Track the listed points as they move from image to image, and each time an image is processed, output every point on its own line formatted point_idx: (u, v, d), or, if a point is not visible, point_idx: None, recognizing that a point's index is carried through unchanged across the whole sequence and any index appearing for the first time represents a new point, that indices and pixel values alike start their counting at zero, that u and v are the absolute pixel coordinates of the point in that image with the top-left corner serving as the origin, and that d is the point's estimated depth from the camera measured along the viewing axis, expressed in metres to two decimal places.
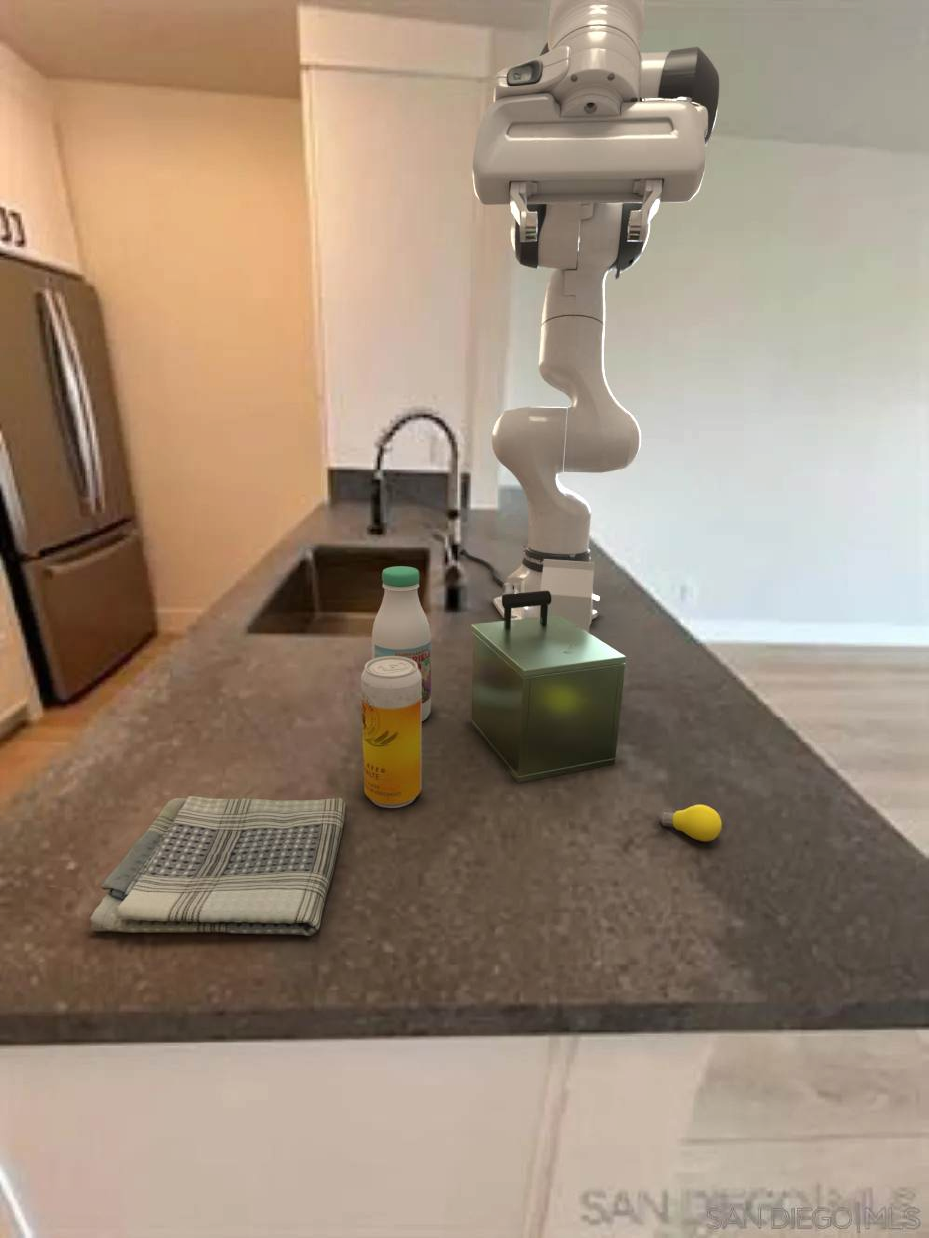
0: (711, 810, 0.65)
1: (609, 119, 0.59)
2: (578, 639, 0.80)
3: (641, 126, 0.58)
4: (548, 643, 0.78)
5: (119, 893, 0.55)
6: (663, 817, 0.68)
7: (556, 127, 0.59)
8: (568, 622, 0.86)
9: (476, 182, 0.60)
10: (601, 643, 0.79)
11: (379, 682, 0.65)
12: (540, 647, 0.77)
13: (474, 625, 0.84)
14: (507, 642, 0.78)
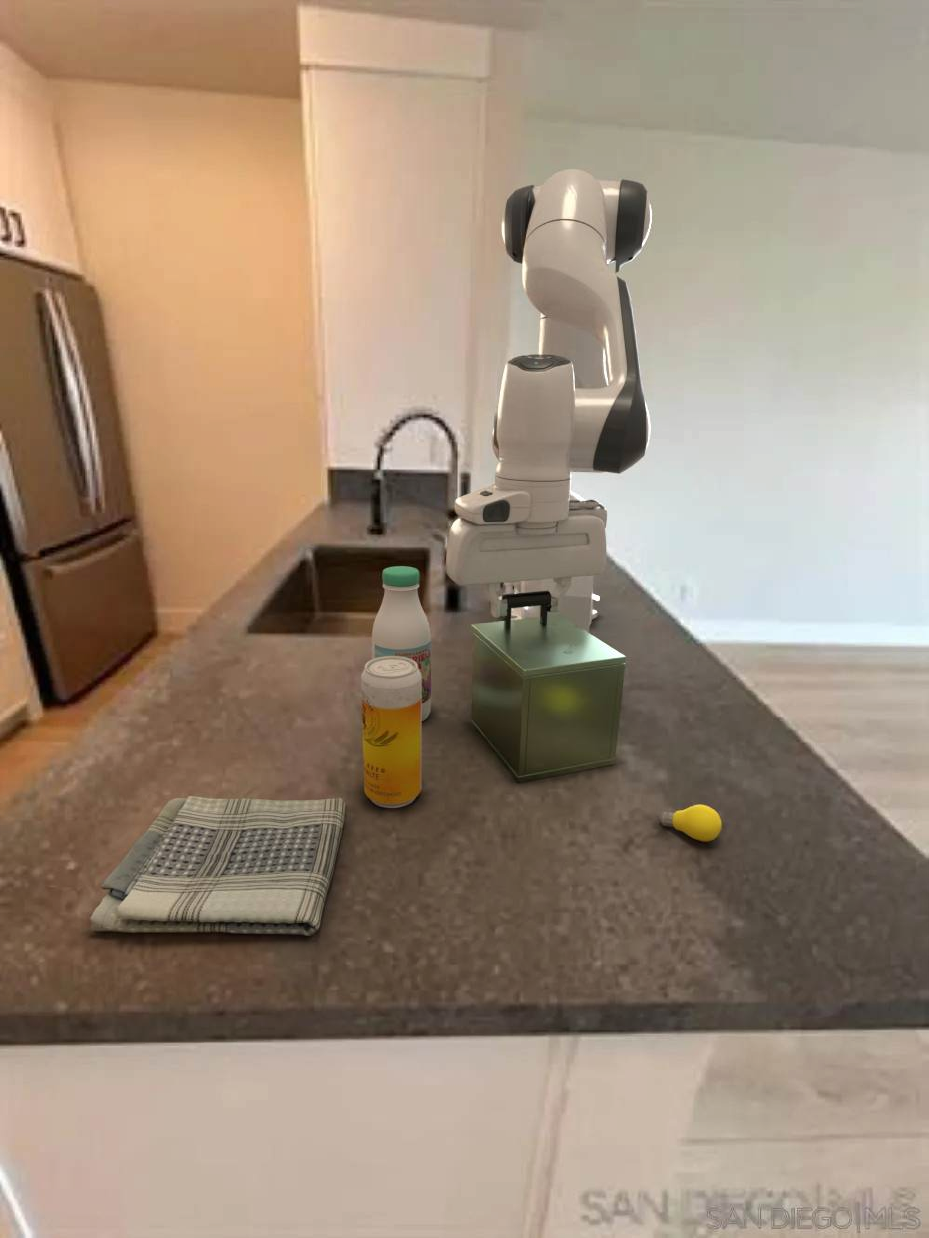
0: (711, 810, 0.65)
1: (549, 534, 0.79)
2: (578, 639, 0.80)
3: (569, 538, 0.81)
4: (548, 643, 0.78)
5: (119, 893, 0.55)
6: (663, 817, 0.68)
7: (513, 540, 0.78)
8: (568, 622, 0.86)
9: (455, 581, 0.78)
10: (601, 643, 0.79)
11: (379, 682, 0.65)
12: (540, 647, 0.77)
13: (474, 625, 0.84)
14: (507, 642, 0.78)
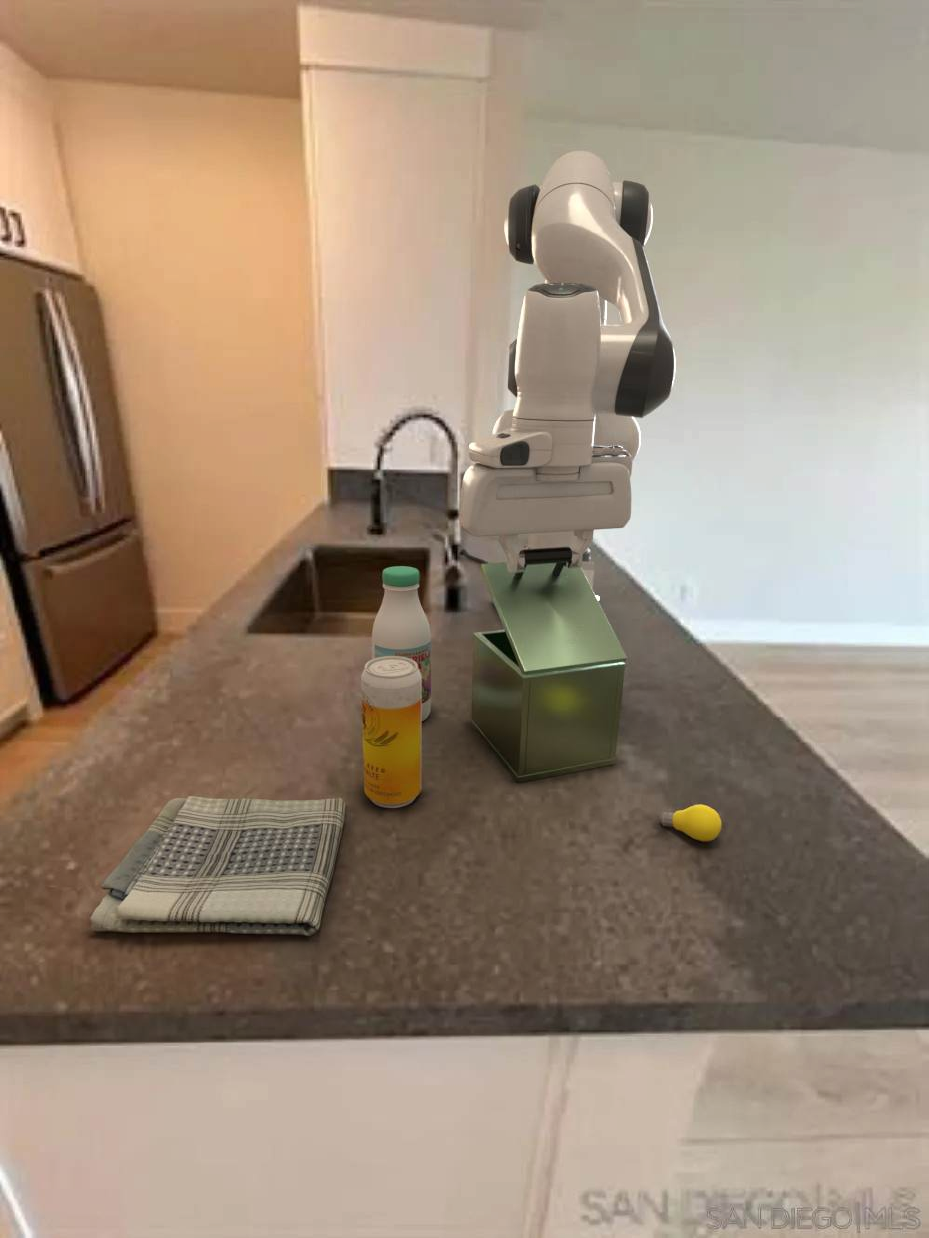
0: (711, 810, 0.65)
1: (570, 481, 0.73)
2: (586, 614, 0.77)
3: (592, 487, 0.75)
4: (555, 618, 0.76)
5: (119, 893, 0.55)
6: (663, 817, 0.68)
7: (532, 487, 0.72)
8: (581, 575, 0.81)
9: (469, 532, 0.72)
10: (607, 626, 0.77)
11: (379, 682, 0.65)
12: (546, 626, 0.75)
13: (484, 567, 0.79)
14: (514, 610, 0.76)
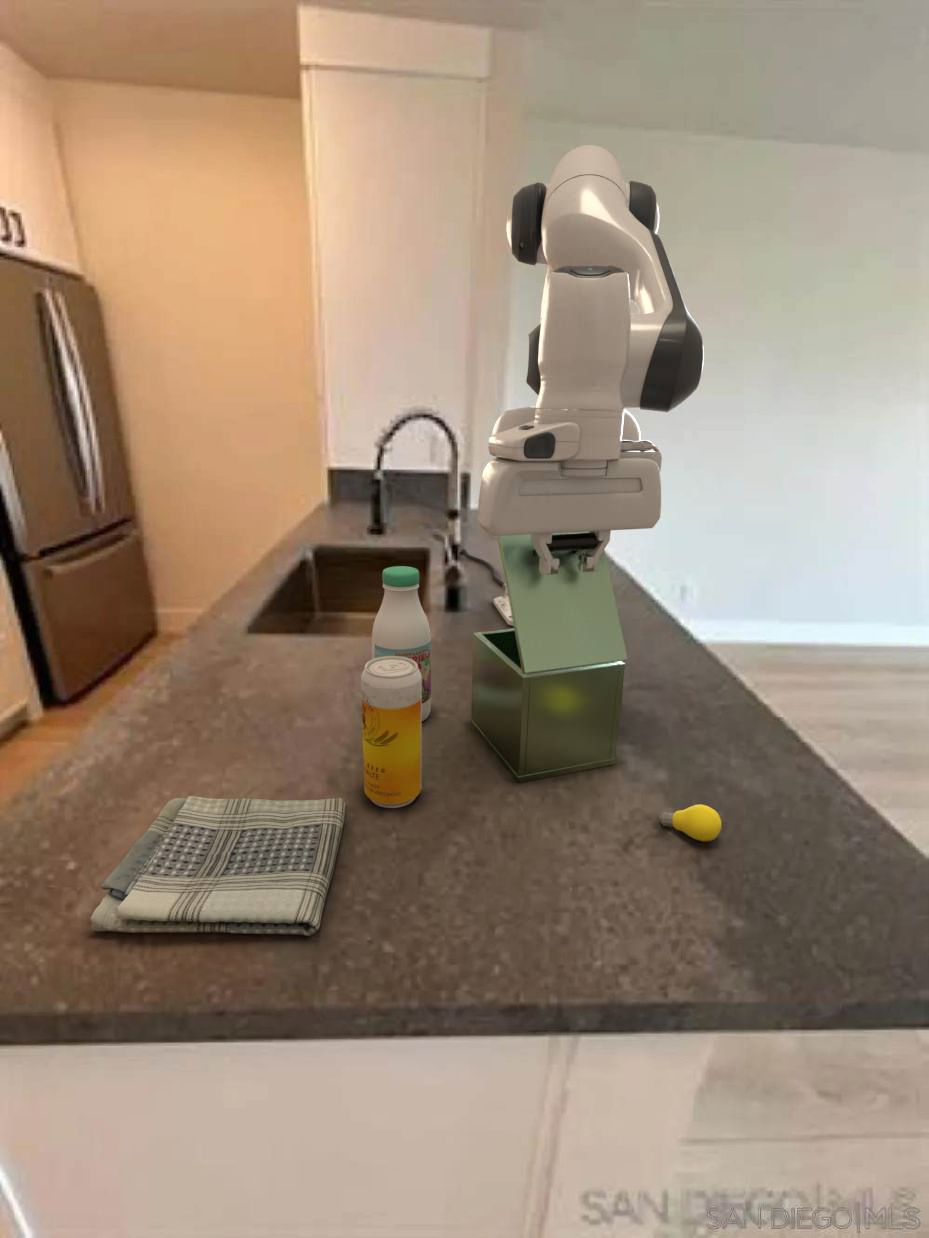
0: (711, 810, 0.65)
1: (597, 477, 0.69)
2: (597, 605, 0.75)
3: (620, 483, 0.70)
4: (565, 609, 0.74)
5: (119, 893, 0.55)
6: (663, 817, 0.68)
7: (556, 483, 0.67)
8: None
9: (489, 531, 0.67)
10: (616, 620, 0.75)
11: (379, 682, 0.65)
12: (555, 618, 0.73)
13: (502, 538, 0.73)
14: (526, 597, 0.72)
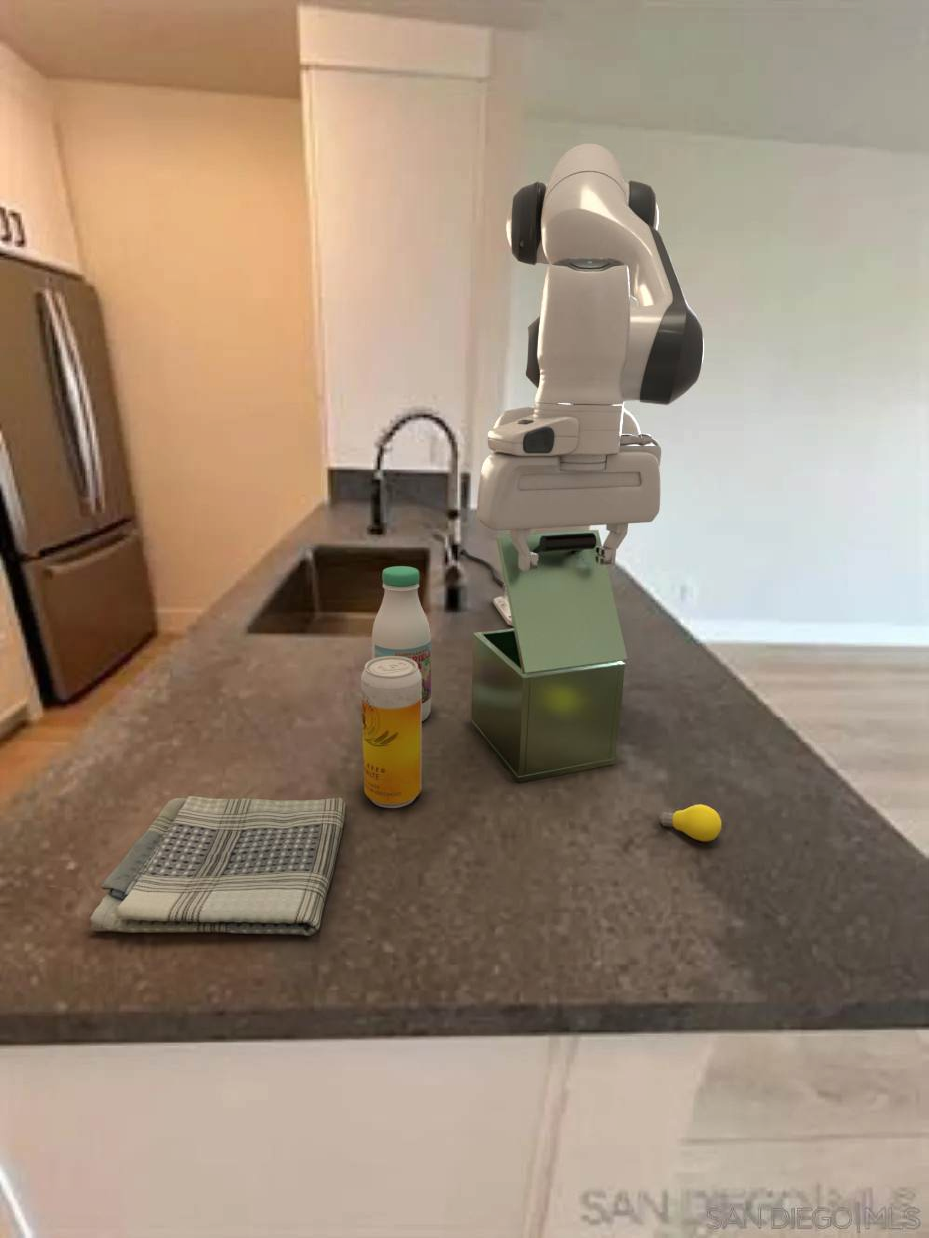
0: (711, 810, 0.65)
1: (596, 472, 0.69)
2: (597, 605, 0.75)
3: (619, 477, 0.70)
4: (565, 609, 0.74)
5: (119, 893, 0.55)
6: (663, 817, 0.68)
7: (556, 478, 0.67)
8: None
9: (488, 526, 0.67)
10: (615, 620, 0.75)
11: (379, 682, 0.65)
12: (554, 618, 0.73)
13: (501, 539, 0.73)
14: (525, 597, 0.73)
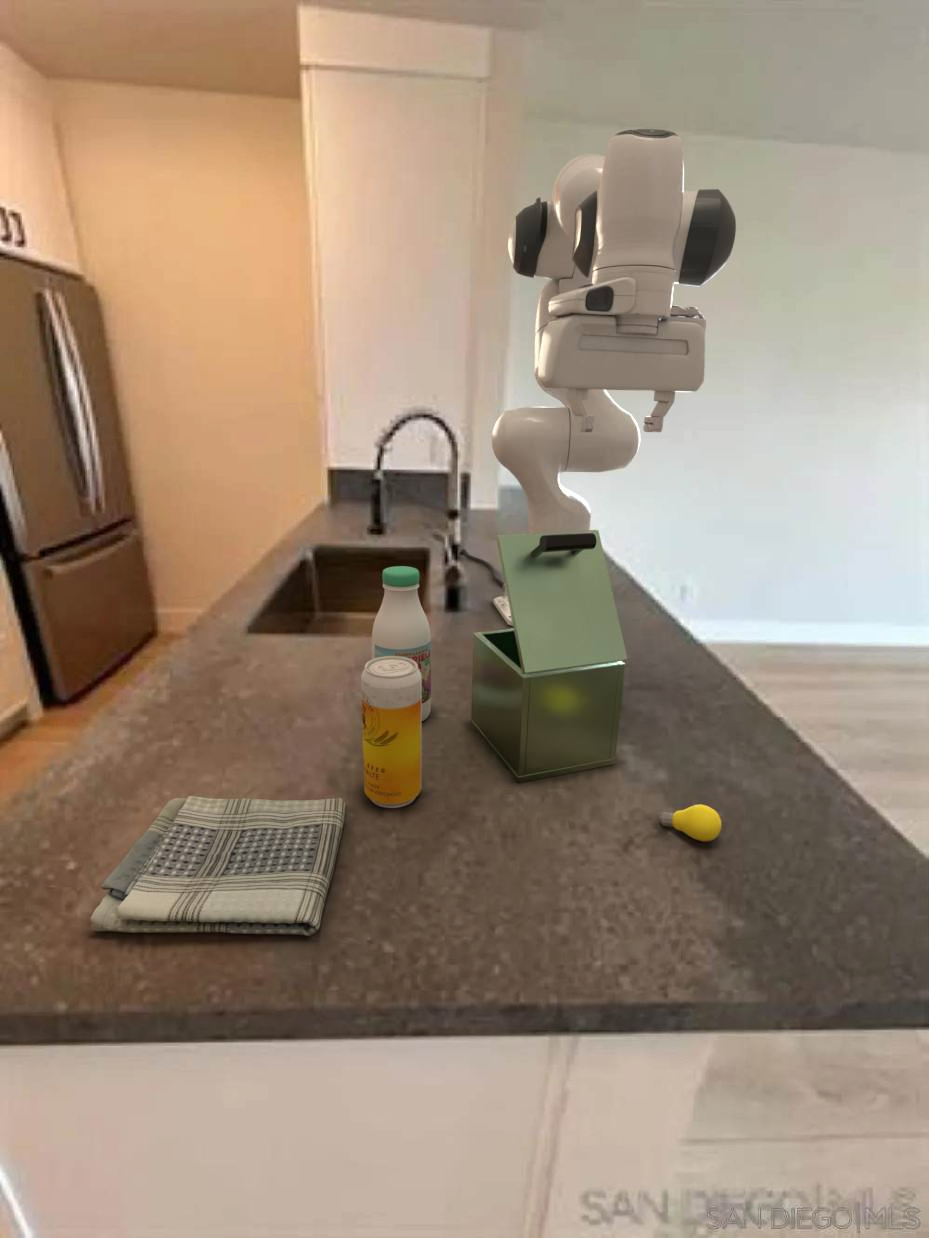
0: (710, 810, 0.65)
1: (648, 337, 0.74)
2: (597, 605, 0.75)
3: (668, 345, 0.76)
4: (565, 609, 0.74)
5: (119, 893, 0.55)
6: (663, 817, 0.68)
7: (612, 340, 0.73)
8: (600, 554, 0.77)
9: (550, 384, 0.73)
10: (615, 620, 0.75)
11: (379, 682, 0.65)
12: (554, 618, 0.73)
13: (501, 539, 0.73)
14: (525, 597, 0.73)
